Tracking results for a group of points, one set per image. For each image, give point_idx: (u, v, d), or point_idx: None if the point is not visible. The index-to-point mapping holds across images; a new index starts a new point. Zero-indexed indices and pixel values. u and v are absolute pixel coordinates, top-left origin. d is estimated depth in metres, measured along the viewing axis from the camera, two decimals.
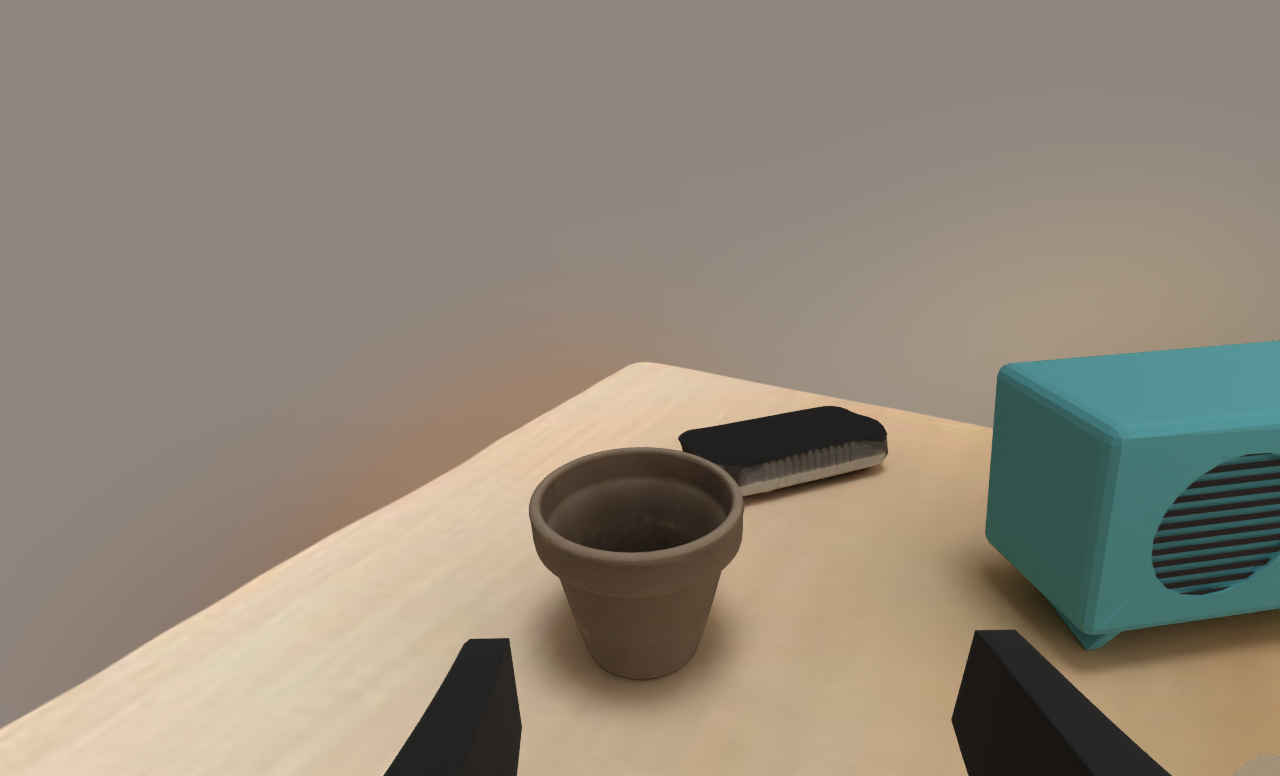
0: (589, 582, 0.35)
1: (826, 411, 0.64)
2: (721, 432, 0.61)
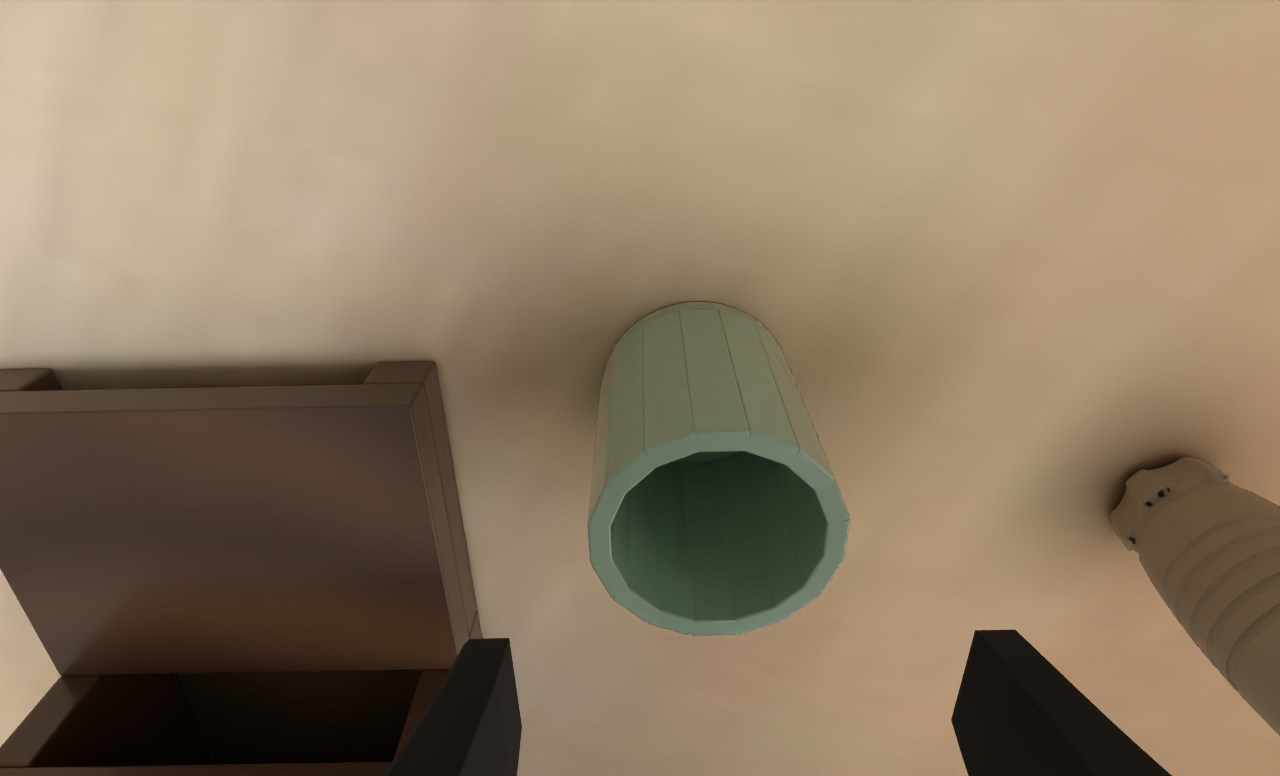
0: None
1: None
2: None
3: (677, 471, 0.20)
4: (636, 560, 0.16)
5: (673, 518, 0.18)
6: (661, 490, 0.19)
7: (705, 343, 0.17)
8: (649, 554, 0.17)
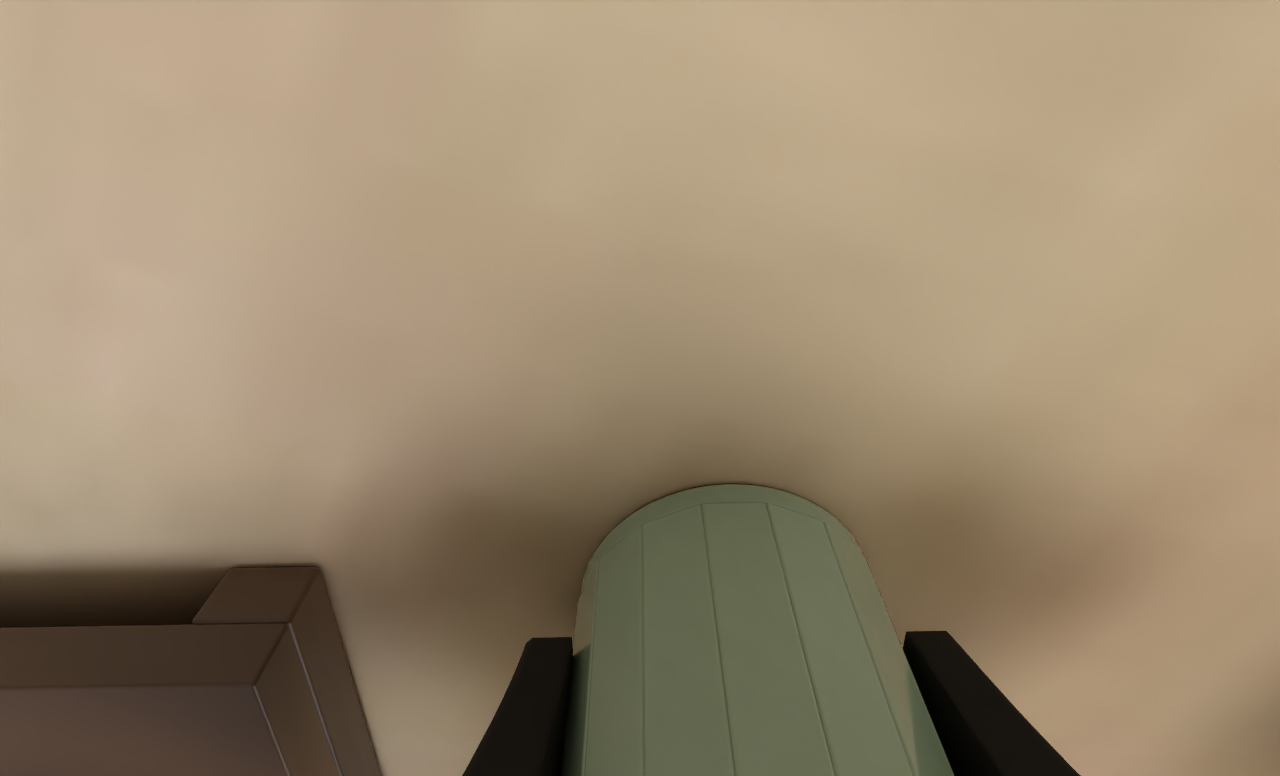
0: None
1: None
2: None
3: None
4: None
5: None
6: None
7: (753, 602, 0.09)
8: None
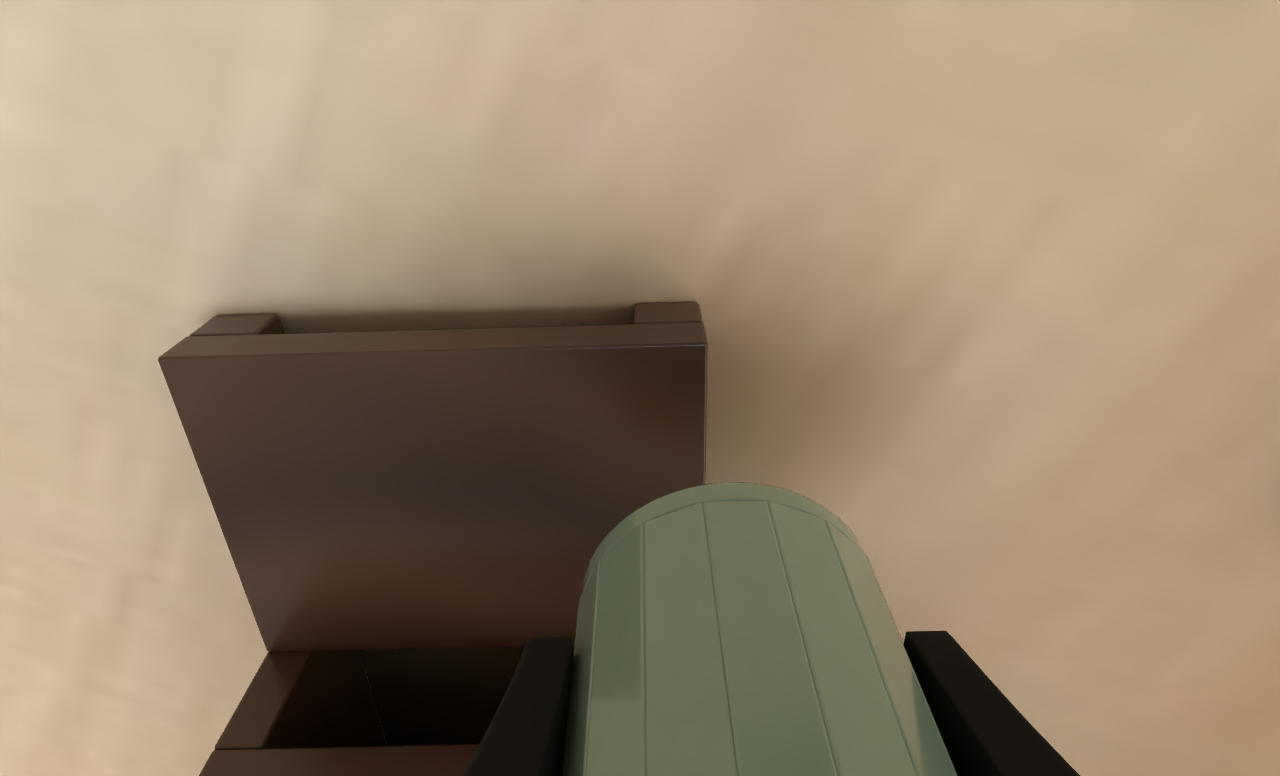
0: None
1: None
2: None
3: None
4: None
5: None
6: None
7: (755, 600, 0.09)
8: None
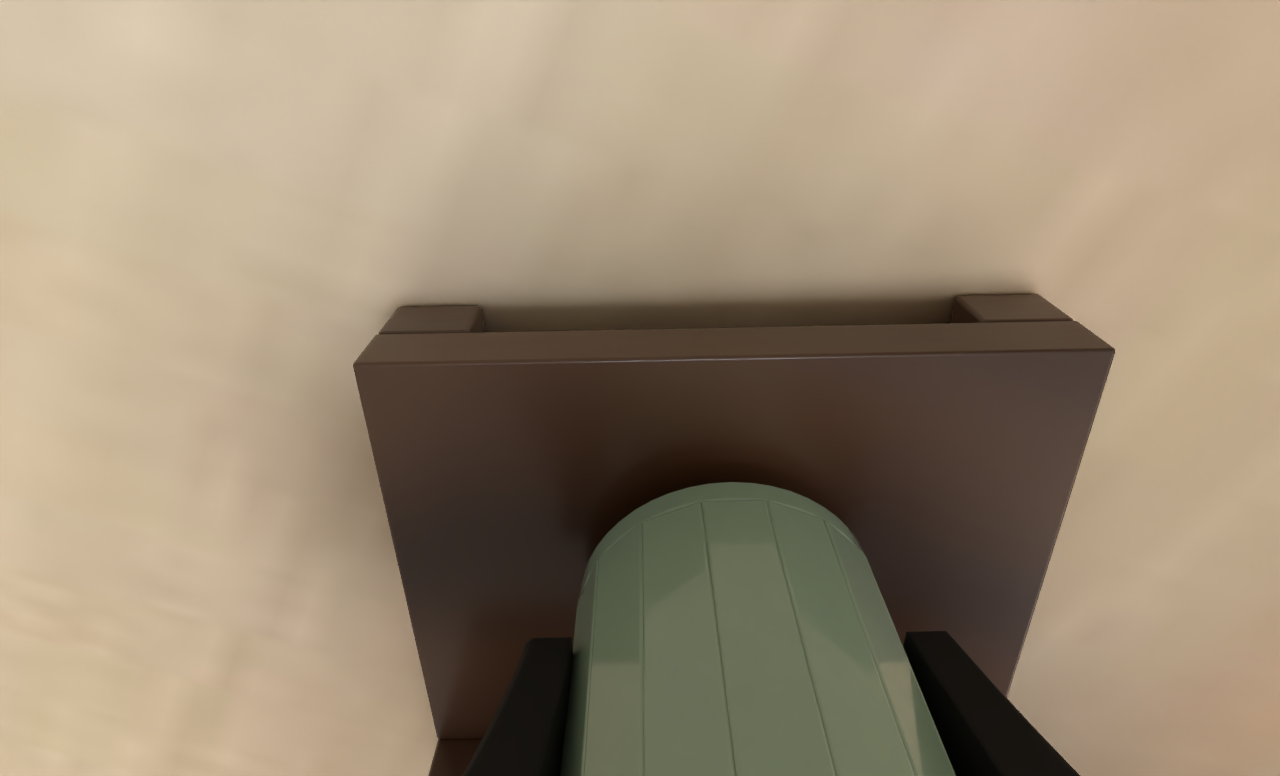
0: None
1: None
2: None
3: None
4: None
5: None
6: None
7: (753, 600, 0.09)
8: None
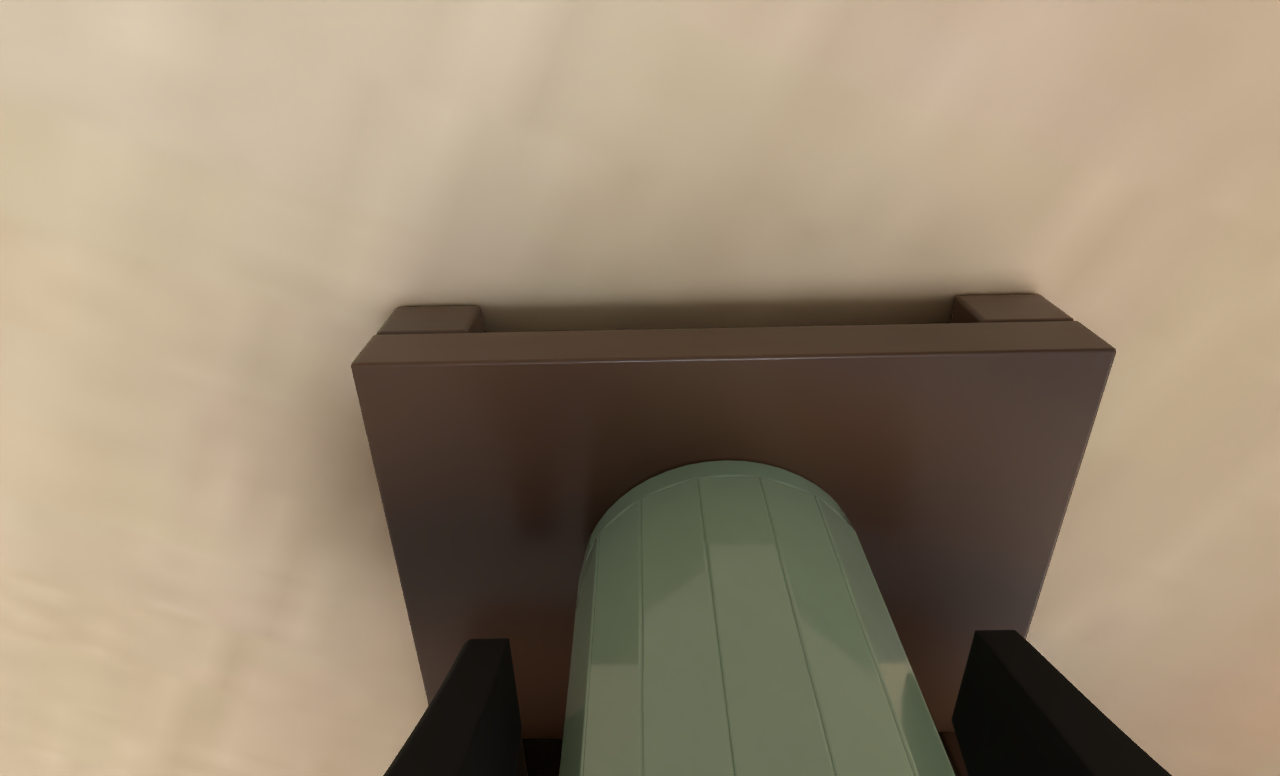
0: None
1: None
2: None
3: None
4: None
5: None
6: None
7: (746, 567, 0.10)
8: None
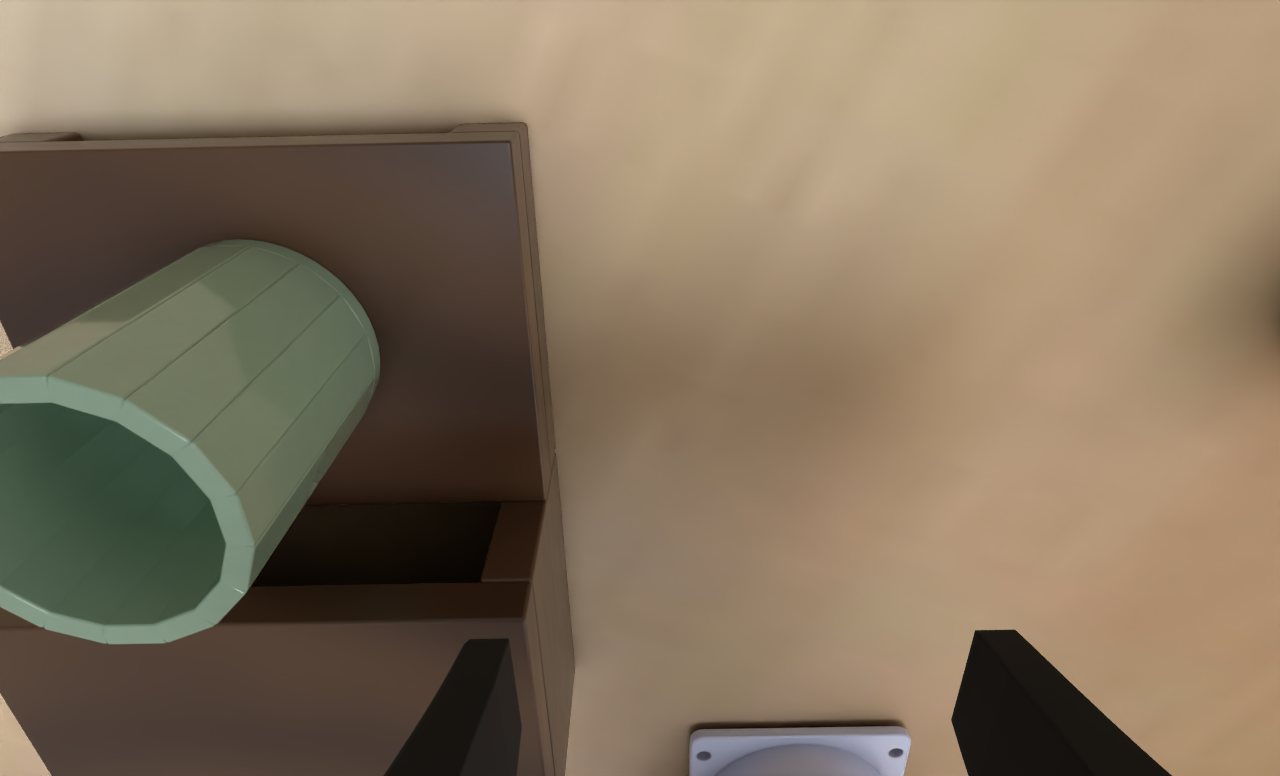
0: None
1: None
2: None
3: None
4: (54, 549, 0.13)
5: (189, 499, 0.15)
6: None
7: (168, 280, 0.13)
8: (95, 542, 0.13)
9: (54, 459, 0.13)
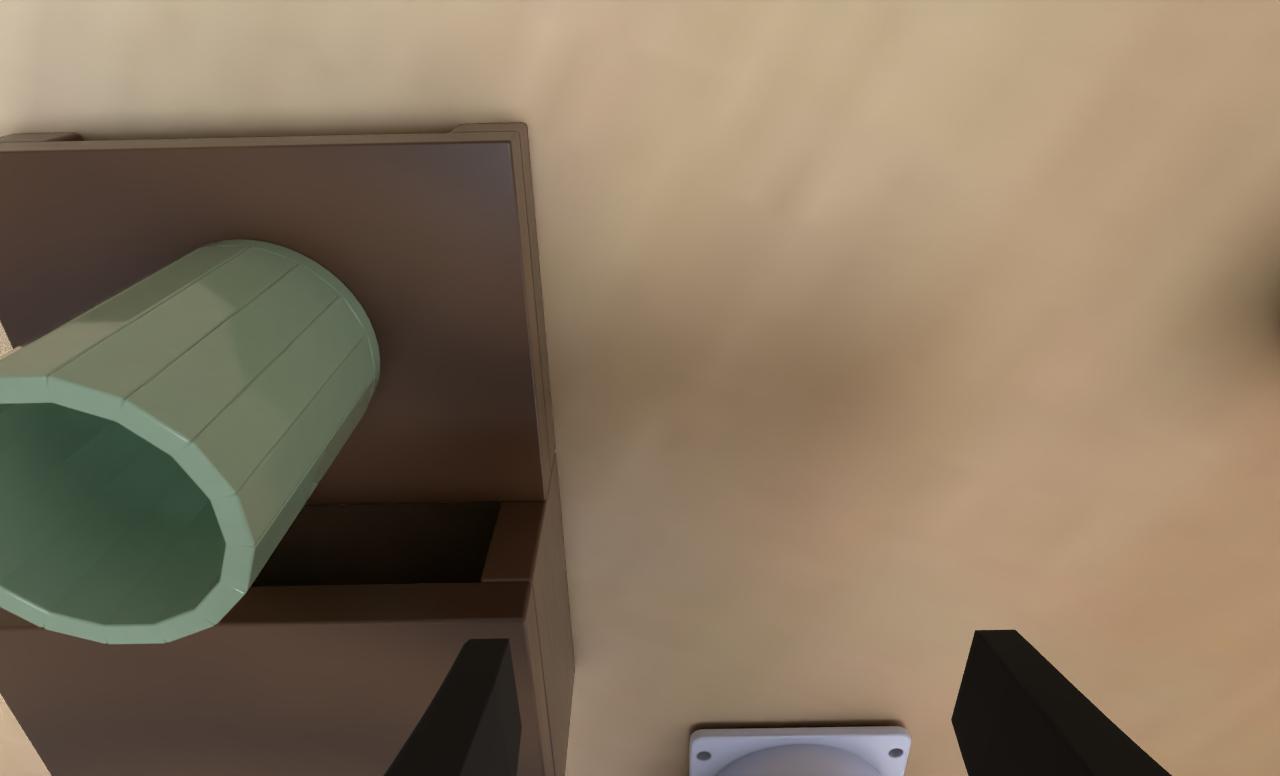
0: None
1: None
2: None
3: None
4: (54, 549, 0.13)
5: (189, 499, 0.15)
6: None
7: (168, 280, 0.13)
8: (95, 542, 0.13)
9: (54, 459, 0.13)
